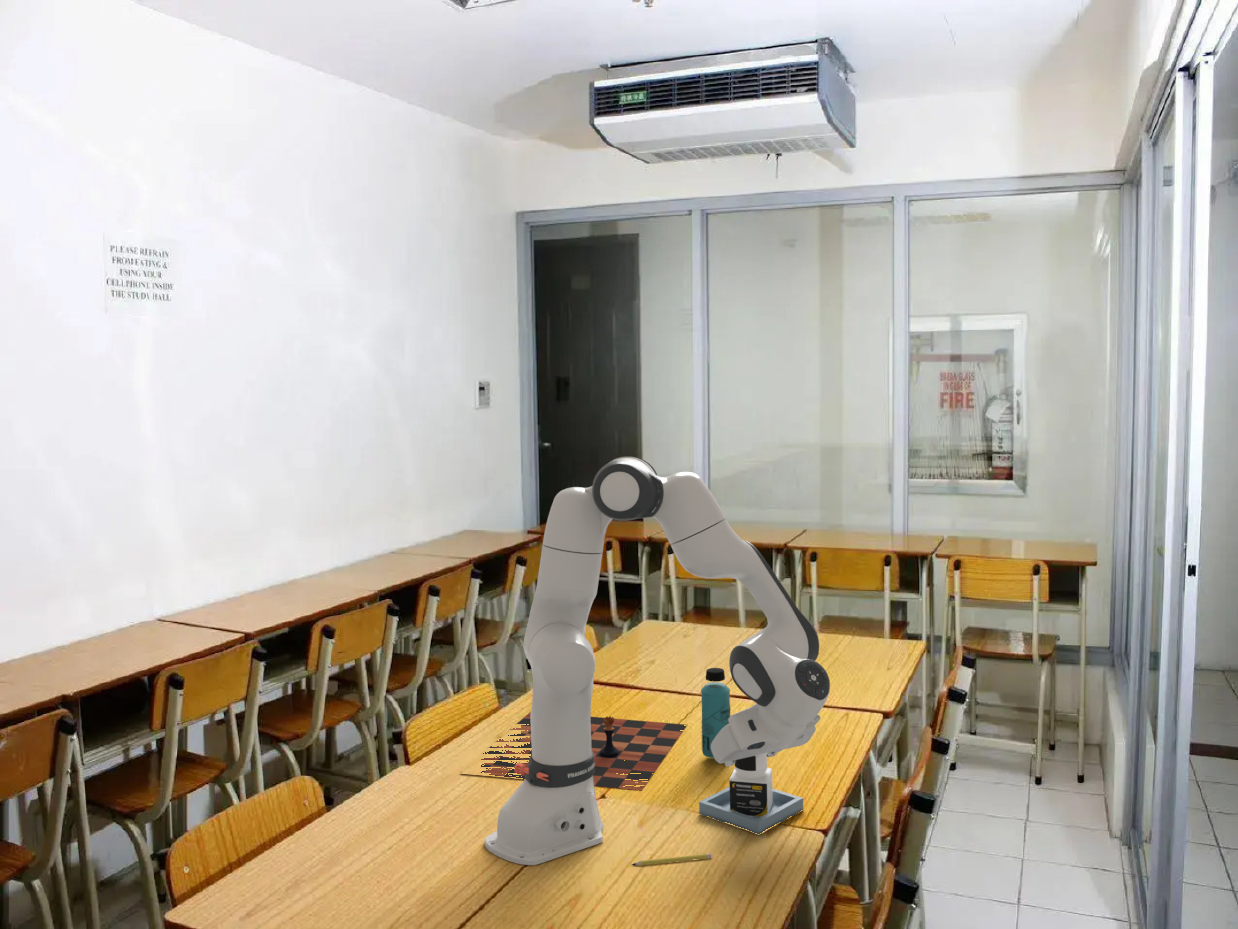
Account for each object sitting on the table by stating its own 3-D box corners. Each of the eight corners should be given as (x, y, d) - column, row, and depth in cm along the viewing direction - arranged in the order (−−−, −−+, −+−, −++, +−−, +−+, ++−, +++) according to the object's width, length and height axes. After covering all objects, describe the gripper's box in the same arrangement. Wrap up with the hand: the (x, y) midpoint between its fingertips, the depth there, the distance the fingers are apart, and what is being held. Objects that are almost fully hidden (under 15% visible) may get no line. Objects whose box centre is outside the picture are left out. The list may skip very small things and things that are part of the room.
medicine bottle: (729, 815, 197) (728, 753, 196) (736, 800, 204) (735, 740, 202) (767, 819, 195) (766, 756, 194) (773, 803, 202) (771, 743, 200)
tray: (759, 835, 189) (758, 822, 189) (699, 814, 199) (699, 801, 199) (803, 810, 199) (803, 798, 199) (744, 791, 209) (744, 779, 209)
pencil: (630, 866, 180) (630, 860, 180) (710, 858, 182) (710, 852, 182) (631, 868, 179) (631, 863, 179) (711, 860, 181) (711, 855, 181)
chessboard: (461, 776, 223) (459, 726, 222) (530, 715, 261) (529, 672, 260) (641, 795, 211) (641, 742, 210) (687, 729, 249) (686, 683, 248)
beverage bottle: (696, 762, 225) (694, 671, 223) (708, 752, 231) (706, 663, 229) (725, 767, 222) (723, 675, 220) (736, 756, 228) (734, 666, 226)
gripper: (816, 698, 196) (786, 733, 205) (722, 716, 187) (696, 752, 196) (831, 728, 192) (800, 762, 202) (736, 748, 183) (709, 784, 193)
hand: (748, 758), depth 199 cm, fingers open, 8 cm apart
